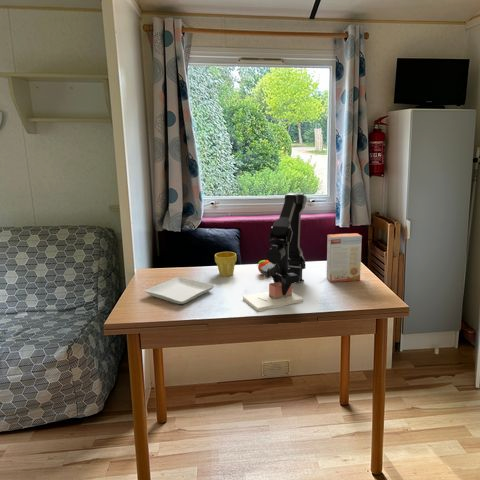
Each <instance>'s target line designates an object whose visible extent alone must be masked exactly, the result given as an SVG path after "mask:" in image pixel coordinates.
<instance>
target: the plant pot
mask: <svg viewBox="0 0 480 480" xmlns="http://www.w3.org/2000/svg"><path fill="white" fill-rule="evenodd" d="M237 259H238V257H237V253H236V252H233V251H221V252H217V253H215V254H214V262H215V263H216V265H217V270H218V273H219V275H220V276H222V277H229V276H233V275H234V273H235V271H234V270H235V264H236V262H237Z"/></svg>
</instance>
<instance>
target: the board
mask: <svg viewBox="0 0 480 480" xmlns="http://www.w3.org/2000/svg"><path fill="white" fill-rule="evenodd" d="M242 300H244V302H246V303H247V304H248V305H250V307H252V308H253V309H255V311H257V312H261V311H265V310H269V309H273V308H279V307H284V306H288V304H289V305H293V304H296V303H302V302H303V301H304V299H303V297H301V296H300V295H298V294H296V293H294V292H293V291H292V296H288V297H283V298H278V299H274V298H272V297H271V296H269V290H268V291H265V292H258V293H253V294H249V295H248V294H247V295H243V296H242ZM260 310H261V311H260Z"/></svg>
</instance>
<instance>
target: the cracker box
mask: <svg viewBox="0 0 480 480" xmlns="http://www.w3.org/2000/svg"><path fill="white" fill-rule="evenodd" d="M362 239H363V235H361V234H359V233H358V232H357V233H355V232H354V233H335V234H327V243H326V244H327V245H326V250H327V251H326V279H327V280H328V281H329V283H335V282H336V283H337V282H338V283H339V282H340V283H341V282H355V281H356V282H357V281H360V280H361V269H362V268H361V267H362V264H361V263H362Z"/></svg>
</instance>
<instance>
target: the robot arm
mask: <svg viewBox="0 0 480 480" xmlns="http://www.w3.org/2000/svg"><path fill="white" fill-rule="evenodd" d="M306 204H307V196H306V195H305V193H304V192H289V193H286V194H285V195H284V202H283V205H282V209H281V211H280V215H279V218H278V219H276V220H275V221H274V222H273V225H272V226H271V228H270V232H269V237H268V242H267V243H268V244H269V245H270V244H271V248H269V249H268V251H267V252H266V253H265V254H266V255H265V256H266V260H268V261H269V262H271V263H268V264H266V265H264V266H262V267H261V268H260V270H261V273H260V274H261V275H262V276H263V277H264V278H266V279H269V278H272V280H273V283H275V282H280V283H281V285H282V294H283V296H284V295H286V293H287V291H288V289H289V288H290V286H291V284H292V285H293V284H298V283H301V282H302V283H303V282H305V280H304V279H303V271H304V270H305V269H306V260H305V257H304V254H303V250H302V248H301V247H300V239H301V238H300V237H301V222H302V221H301V218H302V217H301V214H302V213H303V211H304V209H305V207H306Z"/></svg>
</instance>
